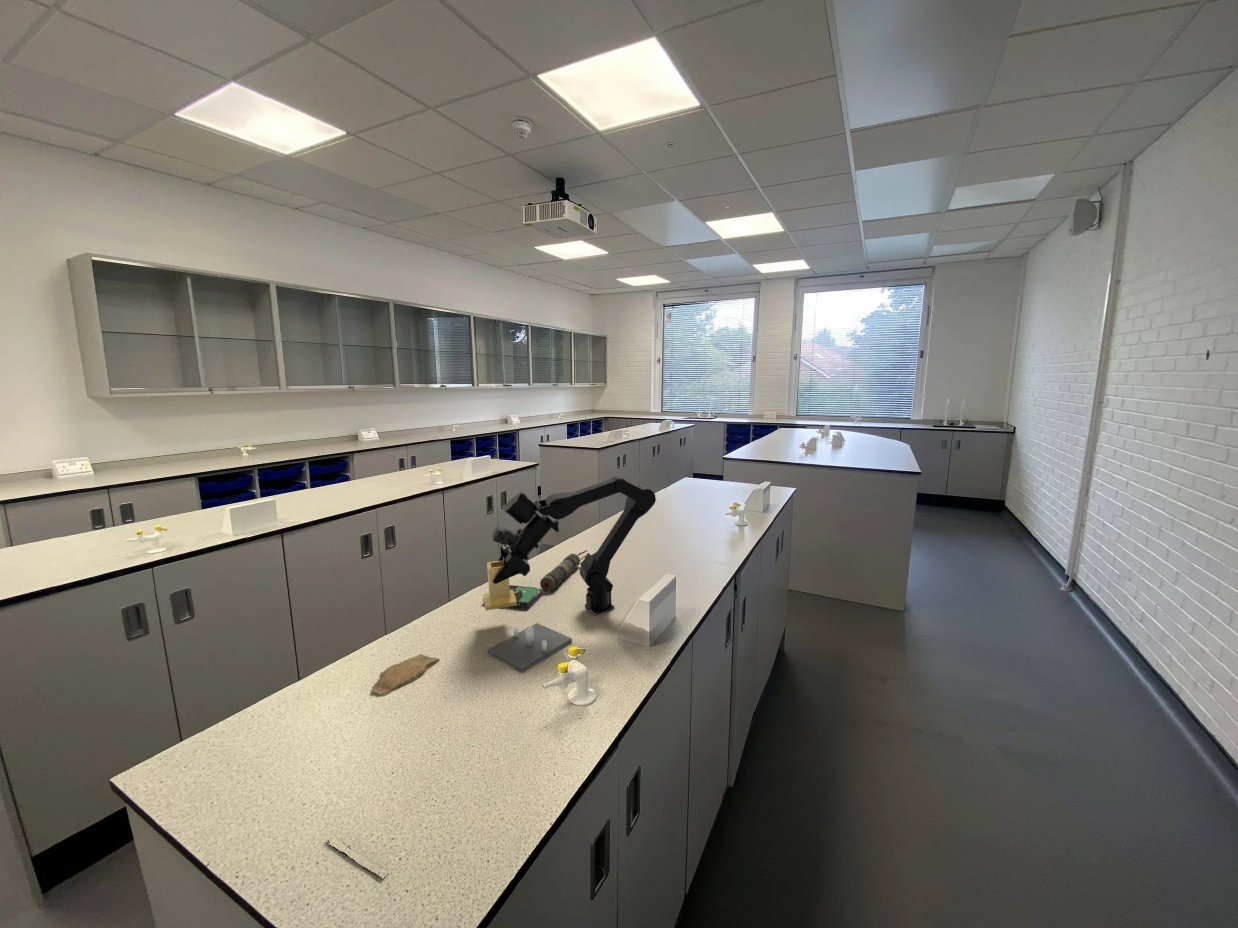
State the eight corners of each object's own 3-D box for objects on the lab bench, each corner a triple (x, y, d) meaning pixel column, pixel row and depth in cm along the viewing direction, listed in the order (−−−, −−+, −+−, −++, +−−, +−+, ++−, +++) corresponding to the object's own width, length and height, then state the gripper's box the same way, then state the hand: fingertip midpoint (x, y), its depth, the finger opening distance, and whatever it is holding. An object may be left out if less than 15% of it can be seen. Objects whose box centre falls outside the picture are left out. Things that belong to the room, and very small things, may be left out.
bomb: (592, 555, 181) (591, 543, 180) (554, 593, 149) (553, 578, 148) (579, 554, 182) (579, 542, 181) (539, 591, 150) (539, 576, 150)
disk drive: (483, 606, 142) (529, 611, 138) (482, 597, 141) (528, 602, 138) (500, 591, 152) (543, 595, 148) (499, 583, 151) (542, 587, 148)
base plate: (537, 626, 128) (536, 609, 128) (571, 641, 120) (571, 623, 120) (487, 652, 116) (486, 633, 115) (522, 672, 108) (521, 651, 107)
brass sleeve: (513, 592, 133) (510, 557, 131) (516, 605, 126) (514, 567, 124) (483, 597, 131) (480, 561, 129) (485, 610, 123) (482, 572, 121)
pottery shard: (445, 665, 112) (444, 658, 112) (379, 701, 100) (378, 694, 100) (426, 654, 117) (426, 648, 116) (361, 687, 104) (360, 680, 104)
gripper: (505, 507, 134) (467, 550, 133) (514, 525, 117) (470, 574, 115) (535, 530, 138) (498, 572, 136) (547, 551, 121) (505, 599, 119)
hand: (492, 578), depth 127 cm, fingers closed on brass sleeve, 5 cm apart
